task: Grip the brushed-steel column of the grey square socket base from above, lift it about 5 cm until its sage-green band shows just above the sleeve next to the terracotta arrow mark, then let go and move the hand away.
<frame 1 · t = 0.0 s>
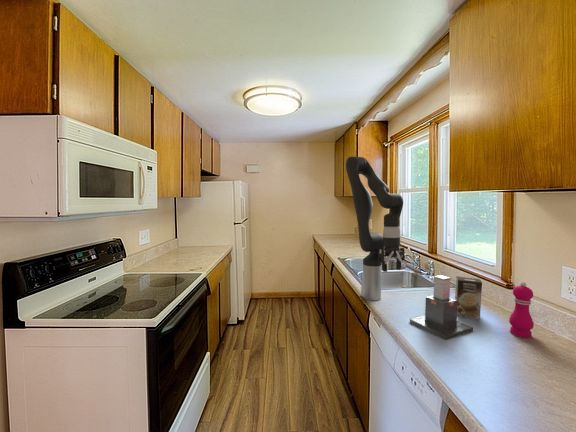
hand: (391, 270, 136), 17 cm above the worktop, tool pointing down, fingers open, 8 cm apart
pepper mill: (520, 334, 109), on the worktop
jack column: (441, 299, 115), point 11 cm above the worktop, slide at 0.0 cm
grey square socket base: (440, 326, 115), on the worktop
coffee box: (466, 315, 127), on the worktop
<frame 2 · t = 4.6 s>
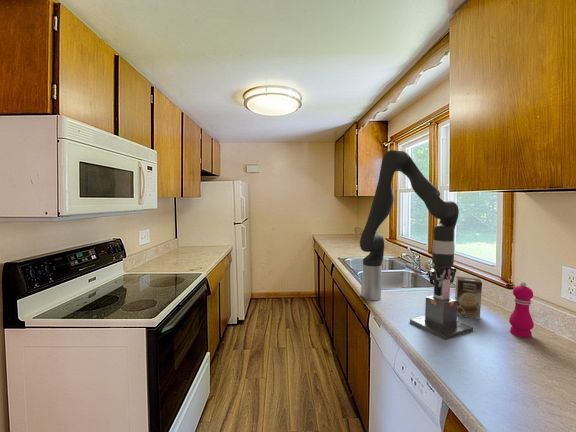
hand: (441, 294, 114), 13 cm above the worktop, tool pointing down, fingers closed on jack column, 4 cm apart
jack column: (441, 299, 115), point 11 cm above the worktop, slide at 0.0 cm, touching gripper
everything else where it was.
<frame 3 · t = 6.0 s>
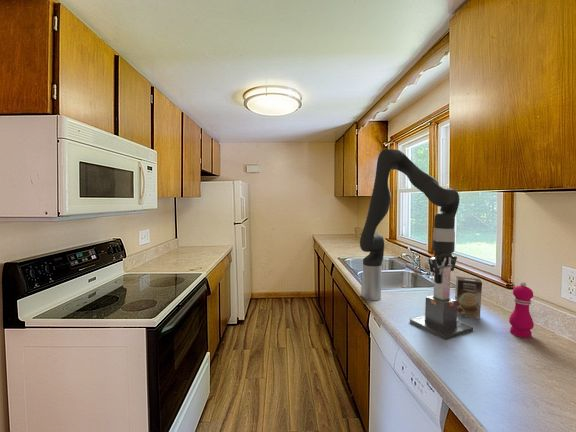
hand: (441, 282, 114), 18 cm above the worktop, tool pointing down, fingers closed on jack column, 4 cm apart
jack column: (441, 287, 114), point 16 cm above the worktop, slide at 4.8 cm, touching gripper
everything else where it was.
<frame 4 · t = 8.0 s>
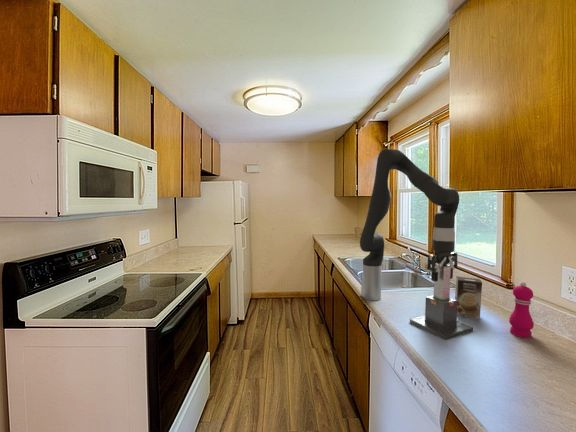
hand: (442, 279, 114), 19 cm above the worktop, tool pointing down, fingers open, 8 cm apart
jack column: (441, 287, 114), point 16 cm above the worktop, slide at 4.9 cm
everything else where it was.
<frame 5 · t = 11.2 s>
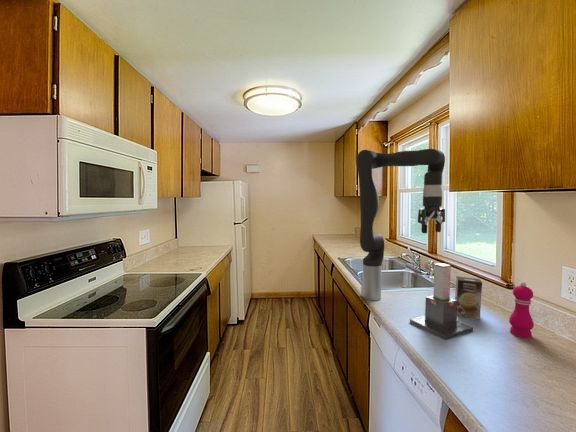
hand: (431, 232, 127), 36 cm above the worktop, tool pointing down, fingers open, 8 cm apart
nothing on the worktop moved.
at the end: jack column slide at 4.9 cm; the gripper is holding nothing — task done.
